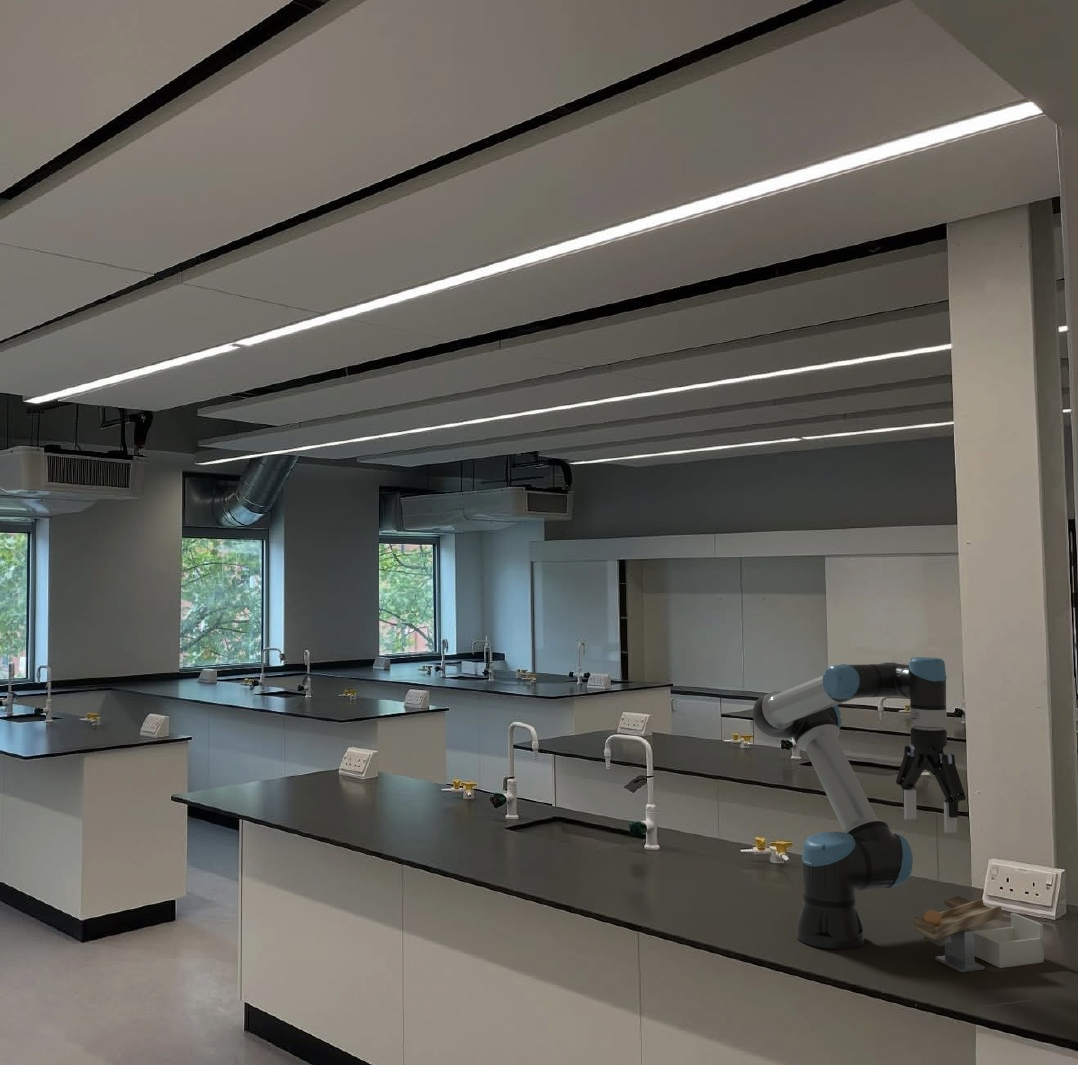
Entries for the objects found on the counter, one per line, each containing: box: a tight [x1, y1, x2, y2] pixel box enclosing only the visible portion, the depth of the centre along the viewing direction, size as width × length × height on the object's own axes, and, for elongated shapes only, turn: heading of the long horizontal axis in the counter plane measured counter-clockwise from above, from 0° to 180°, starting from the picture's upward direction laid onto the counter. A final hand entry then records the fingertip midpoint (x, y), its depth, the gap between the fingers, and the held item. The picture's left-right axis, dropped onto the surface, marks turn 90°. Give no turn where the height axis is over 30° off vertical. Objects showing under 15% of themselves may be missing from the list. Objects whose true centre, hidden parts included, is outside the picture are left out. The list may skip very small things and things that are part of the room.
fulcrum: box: [935, 928, 985, 973], centre depth 220 cm, size 6×8×8 cm
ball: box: [922, 909, 941, 927], centre depth 218 cm, size 4×4×4 cm
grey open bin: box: [973, 912, 1045, 969], centre depth 223 cm, size 9×12×8 cm
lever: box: [913, 895, 1004, 947], centre depth 223 cm, size 18×13×5 cm
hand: (930, 825), depth 225 cm, fingers open, 13 cm apart
